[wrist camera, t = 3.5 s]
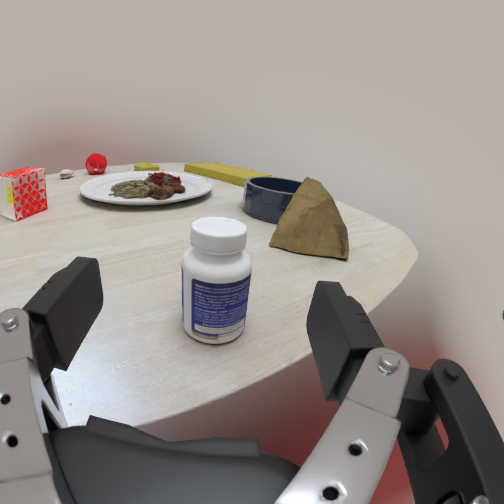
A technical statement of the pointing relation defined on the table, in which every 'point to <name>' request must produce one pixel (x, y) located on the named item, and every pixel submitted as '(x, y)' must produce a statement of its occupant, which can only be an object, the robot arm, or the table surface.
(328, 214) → the rock
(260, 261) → the table surface
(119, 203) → the plated food
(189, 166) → the flat olive board
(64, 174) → the macaroon
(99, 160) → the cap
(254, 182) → the pot
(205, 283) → the pill bottle
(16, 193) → the red patterned cube
